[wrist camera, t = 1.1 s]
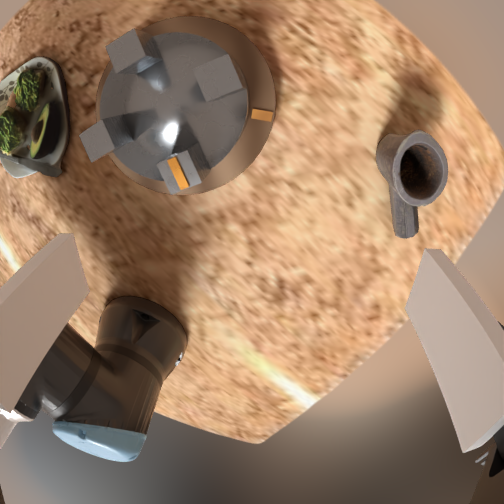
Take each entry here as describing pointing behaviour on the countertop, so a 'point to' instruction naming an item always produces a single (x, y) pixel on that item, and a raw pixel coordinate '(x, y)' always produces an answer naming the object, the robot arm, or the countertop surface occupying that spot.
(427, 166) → the pipe
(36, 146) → the salad plate
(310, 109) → the countertop surface
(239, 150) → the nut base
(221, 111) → the four-tab metal disc
